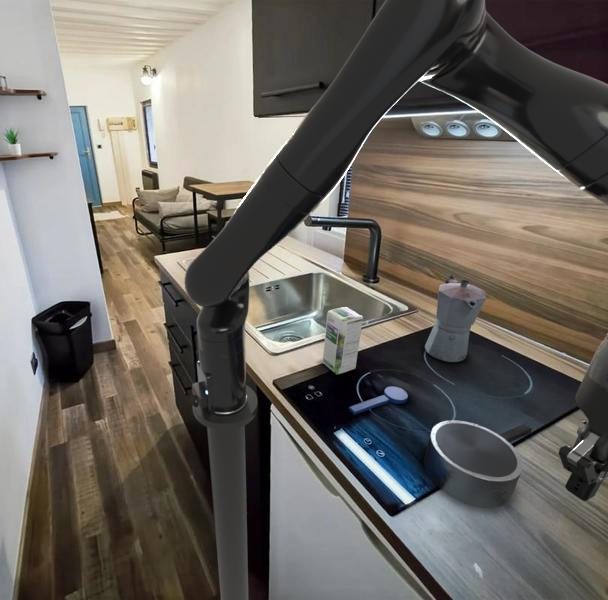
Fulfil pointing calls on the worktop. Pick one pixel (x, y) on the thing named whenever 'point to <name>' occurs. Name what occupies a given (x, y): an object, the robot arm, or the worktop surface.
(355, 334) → the syrup box
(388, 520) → the worktop surface
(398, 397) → the spoon
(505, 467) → the saucepan
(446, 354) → the moka pot
